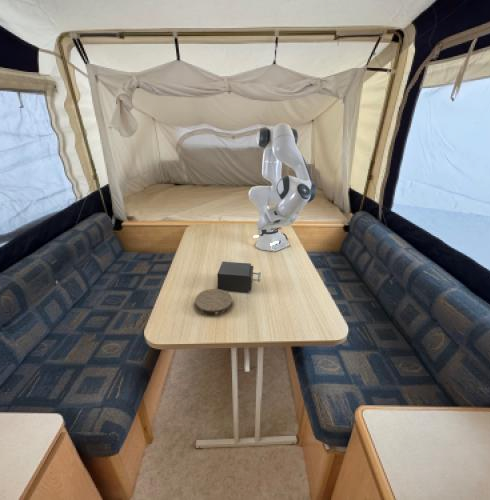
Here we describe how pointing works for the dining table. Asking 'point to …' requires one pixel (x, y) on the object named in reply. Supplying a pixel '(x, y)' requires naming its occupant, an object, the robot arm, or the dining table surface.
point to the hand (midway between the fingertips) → (269, 230)
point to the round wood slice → (213, 302)
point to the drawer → (252, 278)
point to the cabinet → (234, 276)
